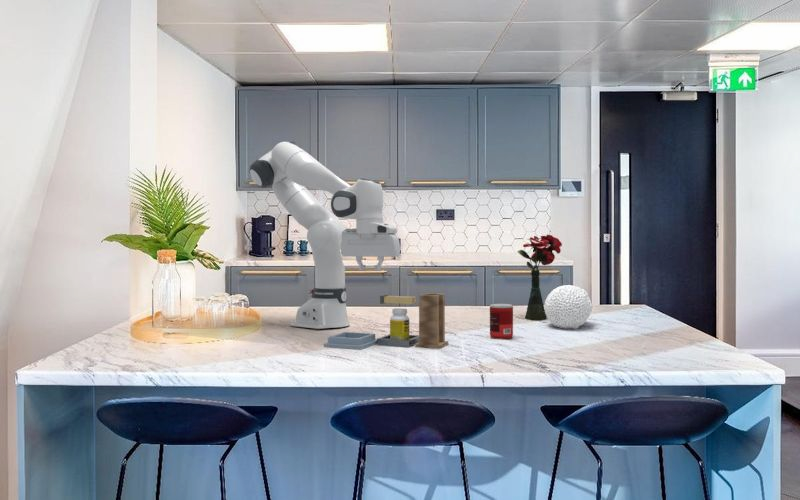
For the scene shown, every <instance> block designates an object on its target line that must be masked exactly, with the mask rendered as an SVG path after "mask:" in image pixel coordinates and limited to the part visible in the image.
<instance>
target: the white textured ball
mask: <svg viewBox="0 0 800 500" xmlns="http://www.w3.org/2000/svg"><path fill="white" fill-rule="evenodd" d="M545 298H546V299H545V300H544V310H545V314H546V317H547V320H548V321H549V323H551V324H552V325H553V326H555V327H557V328H560V329H564V330H567V329H573V330H577V329H578V328H579V327H581V326H583V325H584V323H586V322H587V320H588V319H589V318H590V316H591V313H592V311H593V310H592V309H593V304H592V300H591V298H590V297H589V293H588V292H587V291H586V290H585V289H583V288H582V287H579V286H577V285H571V284H568V285H566V284H564V285H560V286H558V287H556V288H554V289H553V290H551V291H550V293H549V294H548V295H547V297H545Z"/></svg>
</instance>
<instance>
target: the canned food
mask: <svg viewBox="0 0 800 500" xmlns="http://www.w3.org/2000/svg"><path fill="white" fill-rule="evenodd" d="M513 335H514V306H513V304H509V303H494V304H492V303H491V304H490V305H489V336H490V338H491V339H496V340H508V339H512V338H513Z"/></svg>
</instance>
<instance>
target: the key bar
mask: <svg viewBox="0 0 800 500" xmlns="http://www.w3.org/2000/svg"><path fill="white" fill-rule="evenodd" d="M416 303H417V297H416V296H408V295H405V296H404V295H402V296H401V295H389V294H382V295H379V304H381V305H385V304H402V305H403V304H405V305H406V304H407V305H409V304H410V305H413V304H416Z"/></svg>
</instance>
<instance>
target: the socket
mask: <svg viewBox="0 0 800 500" xmlns="http://www.w3.org/2000/svg"><path fill="white" fill-rule="evenodd" d="M376 340H377V344H376V345H377V346H386V347H387V346H388V347H399V348H400V347H401V348H411V347H413V346H415V344H416V343H418V342H419V334H418V335H417V334H415V335H414V334H409V340H397V339H390V333H389V334H386V335H383V336H380V337H378V338H376Z"/></svg>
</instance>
